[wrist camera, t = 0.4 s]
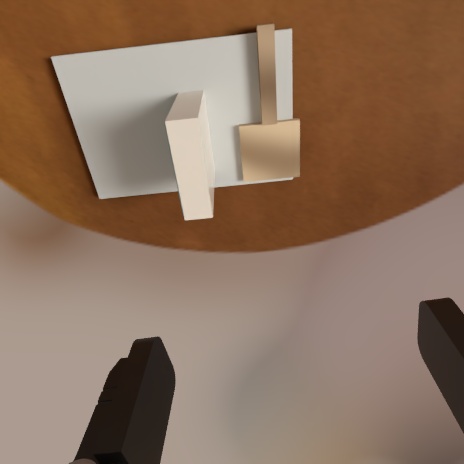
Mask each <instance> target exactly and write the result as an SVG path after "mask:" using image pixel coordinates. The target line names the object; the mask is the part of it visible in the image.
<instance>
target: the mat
mask: <svg viewBox="0 0 464 464" xmlns="http://www.w3.org/2000/svg"><path fill="white" fill-rule="evenodd" d="M274 31H275V65H276V98H277V120H286V119H293V110H292V29H291V28H290V29H281V30H274ZM51 59H52V62H53V65H54V68H55V71H56V74H57V77H58V80H59V83H60V86H61V88H62V91H63V94H64V97H65V100H66V103H67V106H68V109H69V112H70V115H71V117H72V120H73V123H74V126H75V129H76V132H77V135H78V138H79V141H80V144H81V147H82V149H83V152H84V155H85V158H86V161H87V164H88V167H89V170H90V173H91V176H92V178H93V181H94V184H95V187H96V190H97V193H98V196H99V199H105V198H115V197H125V196H135V195H144V194H154V193H164V192H174V191H178V188H177V183H176V178H175V173H174V169H173V164H172V159H171V154H170V149H169V144H168V139H167V134H166V129H165V120H166V118H167V116H168V114H169V112H170V110H171V108H172V105H173V103H174V101H175V99H176V97H177V95H178V93H181V92H190V91H199V90H204V96H205V104H206V111H207V118H208V126H209V133H210V140H211V148H212V155H213V162H214V170H215V180H214V187H223V186H233V185H243V184H252V183H262V182H272V181H282V180H292V179H293V177H290V178H280V179H270V180H260V181H251V182H244V180H243V169H242V158H241V146H240V135H239V124H248V123H258V122H261V108H260V89H259V71H258V53H257V34H256V32H255V33H247V34H238V35H229V36H221V37H212V38H204V39H195V40H187V41H178V42H169V43H161V44H152V45H144V46H135V47H127V48H118V49H109V50H101V51H92V52H84V53H75V54H66V55H58V56H52V57H51Z"/></svg>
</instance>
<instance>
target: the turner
mask: <svg viewBox="0 0 464 464" xmlns="http://www.w3.org/2000/svg"><path fill="white" fill-rule="evenodd" d="M256 34H257V53H258V71H259V89H260V108H261V122H258V123H248V124H239V135H240V146H241V158H242V169H243V180H244V182H251V181H260V180H270V179H280V178H290V177H300V119H299V118H295V119H286V120H277V98H276V65H275V31H274V24H273V23H270V24H261V25H256Z"/></svg>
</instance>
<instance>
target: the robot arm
mask: <svg viewBox="0 0 464 464" xmlns="http://www.w3.org/2000/svg"><path fill="white" fill-rule="evenodd" d="M418 346H419V350H420V353H421V355H422V358H423V360H424V362H425V364H426V365H427V367H428V369H429V371H430V373H431V375H432V377H433V378H434V380H435V382H436V384H437V386H438V387H439V389H440V391H441V393H442V395H443V397H444V398H445V400H446V402H447V404H448V406H449V407H450V409H451V411H452V413H453V415H454V416H455V418H456V420H457V422H458V424H459V426H460V428H461V429H462V431H463V433H464V314H463V312H462V311H461V310H460V309H459V307H458V306H457V305H456V304H455V302H454V301H453V300H452V299H450V298H442V299H434V300H427V301H422V302H420V305H419V319H418ZM174 390H175V372H174V368H173V365H172V363H171V361H170V358H169V356H168V354H167V351H166V349H165V347H164V344H163V342H162V340H161V338H160V337H151V338H144V339H137V340H135V341H134V343H133V345H132V347H131V350H130V353H129V355H128V358H121V359H120V360H119V361H118V362H117V364H116V365H115V366H114V367H113V369H112V370H111V371H110V373H109V375H108V377H107V380H106V382H105V385H104V387H103V392H101V395H100V397H99V400H98V405H96V407H95V410H94V412H93V415H92V417H91V420H90V422H89V425H88V427H87V430H86V432H85V435H84V437H83V440H82V442H81V445H80V447H79V450H78V452H77V455H76V457H75V459H74V461H73V462H71V463H69V464H160V461H161V456H162V451H163V445H164V440H165V436H166V430H167V425H168V420H169V415H170V410H171V404H172V400H173V395H174Z"/></svg>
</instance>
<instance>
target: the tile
mask: <svg viewBox="0 0 464 464" xmlns="http://www.w3.org/2000/svg"><path fill="white" fill-rule="evenodd" d="M165 129H166V134H167V139H168V144H169V149H170V154H171V159H172V164H173V169H174V173H175V178H176V183H177V188H178V193H179V198H180V203H181V208H182V213H183V217H184V218H185V220H193V219H203V218H213V204H214V180H215V170H214V162H213V155H212V148H211V140H210V133H209V126H208V118H207V111H206V104H205V96H204V90H199V91H190V92H181V93H178V95H177V97H176V99H175V101H174V103H173V105H172V108H171V110H170V112H169V114H168V116H167V118H166V120H165Z"/></svg>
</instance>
